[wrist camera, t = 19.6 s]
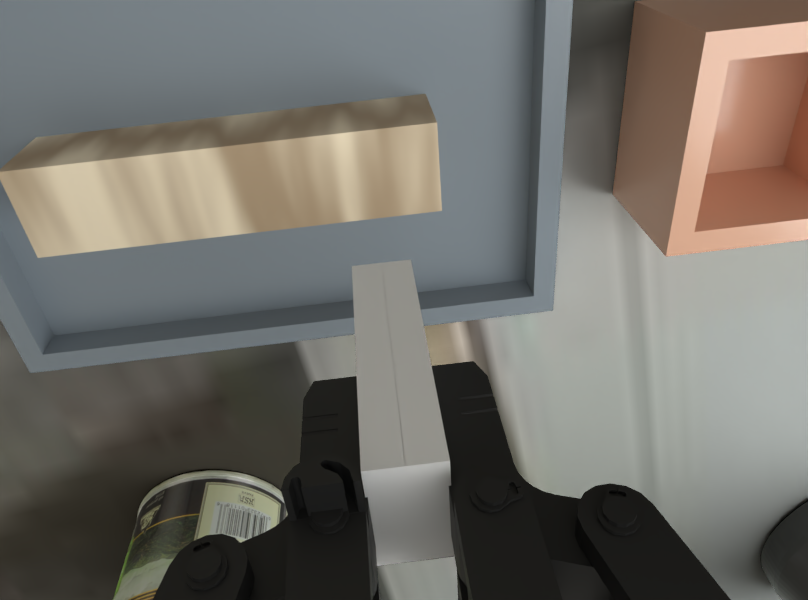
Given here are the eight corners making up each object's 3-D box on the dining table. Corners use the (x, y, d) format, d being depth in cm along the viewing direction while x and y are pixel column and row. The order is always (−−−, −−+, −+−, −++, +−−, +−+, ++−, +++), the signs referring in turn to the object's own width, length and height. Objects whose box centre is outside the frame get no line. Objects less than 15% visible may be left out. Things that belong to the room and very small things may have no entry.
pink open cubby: (840, -21, 26) (959, 4, 21) (785, 174, 31) (871, 232, 26) (635, 1, 26) (706, 31, 21) (612, 194, 31) (665, 256, 26)
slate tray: (559, -130, 23) (581, -130, 21) (539, 283, 33) (553, 310, 31) (-156, -58, 22) (-206, -50, 20) (49, 341, 32) (30, 373, 30)
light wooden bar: (464, 116, 23) (-22, 228, 19) (466, 203, 25) (29, 324, 21) (382, 68, 30) (6, 143, 25) (389, 141, 32) (42, 222, 27)
